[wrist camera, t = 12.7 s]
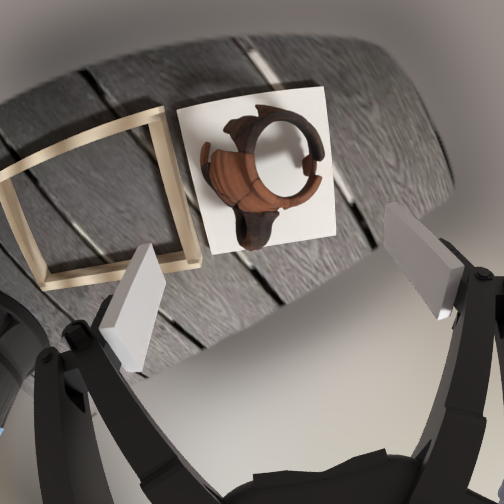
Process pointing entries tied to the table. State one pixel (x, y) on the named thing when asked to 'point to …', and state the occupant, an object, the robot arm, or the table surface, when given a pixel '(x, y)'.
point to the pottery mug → (246, 176)
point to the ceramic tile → (264, 164)
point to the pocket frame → (170, 262)
